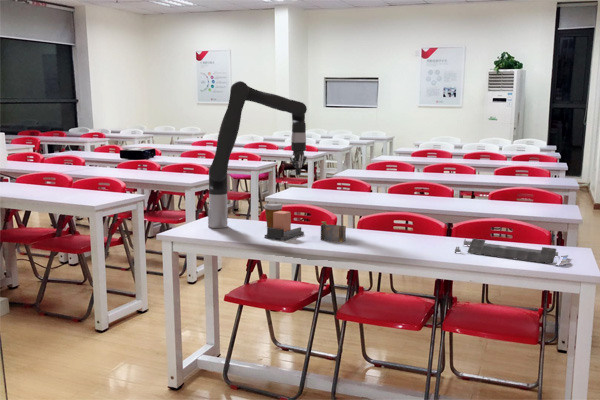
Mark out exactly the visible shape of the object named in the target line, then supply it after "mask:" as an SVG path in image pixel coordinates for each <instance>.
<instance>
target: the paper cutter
mask: <svg viewBox="0 0 600 400" xmlns="http://www.w3.org/2000/svg"><path fill="white" fill-rule="evenodd" d="M464 245H470V246H468V249H467V252H468V253H467V254H474V253H477V254H476V255H481V254H484V255H483V256H489V255H491V257H496V256H500V257H499V258H504V257H509V258H508V259H511V258H517V259H516V260H519V259H523V260H522V261H526V260H529V261H528V262H534V261H536V263H541V262H545V263H544V264H548V263H553V264H554V260H555V258H556V257H555V256H558V257H559V251H557V248H554V247H545V246H542V247H541V249H535V248H530V247H529V248H528V247H519V246H512V245H502V244H495V243H488V242H486V239H479V238H472V240H466V238H465V239H464V241H463V246H464ZM461 251H462V250H461V249H460V246H456V247H455V249H454V253H455V252H461ZM560 256H561V257H563V259H562V261H561V263H560V264H559V265H558V266H563V265H567V264H570V260H568V259H567V258H568V257H569V255H568V254H566V255H560Z"/></svg>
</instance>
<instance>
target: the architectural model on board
mask: <svg viewBox="0 0 600 400" xmlns="http://www.w3.org/2000/svg"><path fill="white" fill-rule="evenodd" d="M320 221H321V220H320ZM321 223H322V224H321ZM321 223H320V241H323V240H324V241H325V242H335V243H345V242H346V232H347V231H346V229H347V228H346V227H347V226H346V225H340V224H338V225H337V224H327V220H325V221H321Z"/></svg>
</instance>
